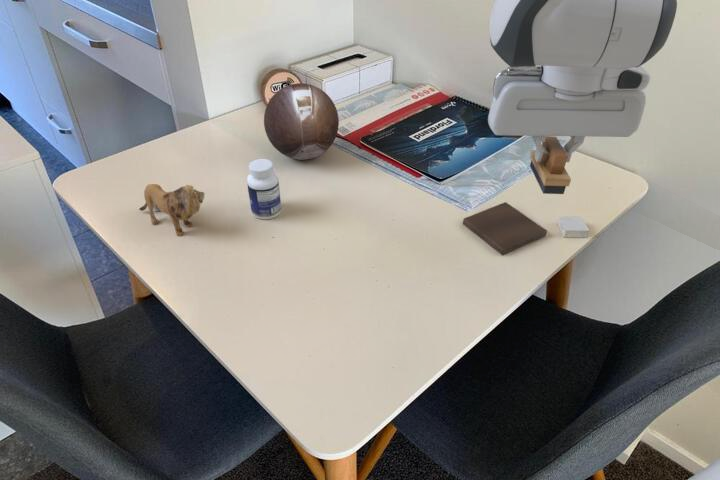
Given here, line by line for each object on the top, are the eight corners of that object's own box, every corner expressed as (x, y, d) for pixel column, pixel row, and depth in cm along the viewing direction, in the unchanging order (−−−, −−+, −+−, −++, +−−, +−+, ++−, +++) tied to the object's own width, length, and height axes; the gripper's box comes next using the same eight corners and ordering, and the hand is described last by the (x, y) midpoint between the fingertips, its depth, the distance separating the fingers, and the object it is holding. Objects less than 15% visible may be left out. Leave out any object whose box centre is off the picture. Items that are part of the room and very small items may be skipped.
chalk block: (587, 237, 89) (589, 230, 88) (563, 237, 89) (565, 230, 88) (579, 223, 92) (581, 216, 91) (556, 223, 92) (558, 216, 91)
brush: (566, 195, 76) (577, 160, 72) (541, 194, 76) (551, 159, 72) (550, 166, 82) (559, 133, 79) (527, 165, 82) (535, 132, 79)
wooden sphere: (286, 180, 102) (279, 109, 93) (256, 148, 112) (247, 80, 103) (352, 161, 108) (352, 91, 99) (318, 132, 118) (315, 66, 109)
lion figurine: (215, 225, 91) (206, 181, 85) (196, 243, 87) (185, 198, 81) (150, 204, 95) (137, 161, 90) (128, 220, 92) (114, 176, 86)
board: (545, 236, 89) (547, 230, 88) (502, 255, 85) (503, 250, 84) (504, 207, 96) (505, 201, 95) (462, 224, 92) (463, 218, 91)
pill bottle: (250, 205, 96) (243, 158, 90) (279, 201, 97) (274, 154, 91) (252, 222, 92) (245, 174, 85) (283, 218, 93) (278, 170, 86)
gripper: (501, 75, 66) (484, 170, 74) (663, 77, 66) (628, 172, 74) (492, 58, 71) (477, 149, 79) (643, 60, 71) (612, 151, 79)
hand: (551, 160), depth 77 cm, fingers closed on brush, 2 cm apart
